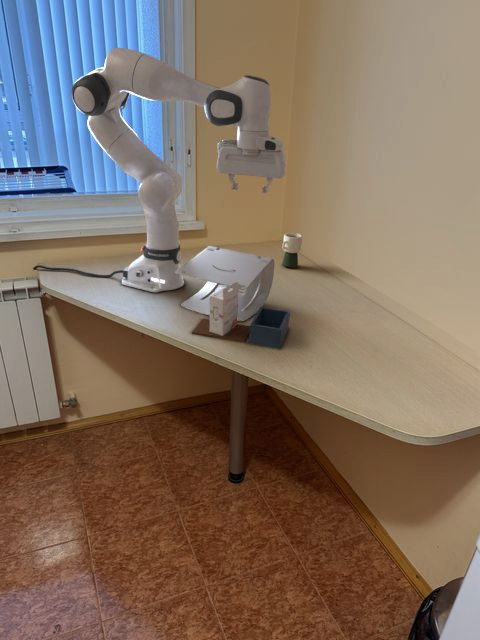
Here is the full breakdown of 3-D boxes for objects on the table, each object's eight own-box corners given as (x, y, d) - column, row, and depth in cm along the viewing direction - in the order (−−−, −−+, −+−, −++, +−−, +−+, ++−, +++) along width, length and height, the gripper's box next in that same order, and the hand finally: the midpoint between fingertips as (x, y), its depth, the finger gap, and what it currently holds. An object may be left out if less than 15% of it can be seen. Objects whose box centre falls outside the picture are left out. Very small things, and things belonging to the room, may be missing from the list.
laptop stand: (274, 300, 167) (278, 256, 160) (242, 325, 149) (245, 278, 142) (210, 284, 178) (211, 243, 170) (174, 306, 160) (173, 261, 152)
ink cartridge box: (223, 321, 150) (225, 276, 143) (237, 325, 148) (239, 280, 141) (208, 332, 144) (209, 285, 136) (222, 336, 142) (224, 289, 134)
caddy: (248, 343, 140) (250, 324, 137) (259, 324, 151) (260, 306, 148) (279, 348, 138) (281, 330, 135) (288, 329, 149) (290, 311, 146)
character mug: (292, 261, 204) (295, 230, 197) (305, 266, 199) (309, 235, 193) (274, 266, 197) (277, 235, 191) (287, 271, 193) (290, 239, 186)
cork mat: (191, 333, 144) (191, 332, 143) (202, 319, 152) (202, 318, 152) (244, 342, 140) (244, 340, 140) (252, 327, 148) (252, 326, 148)
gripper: (214, 139, 138) (213, 190, 144) (285, 145, 133) (280, 196, 140) (220, 137, 143) (219, 186, 150) (289, 142, 138) (284, 192, 145)
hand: (249, 191), depth 145 cm, fingers open, 8 cm apart
